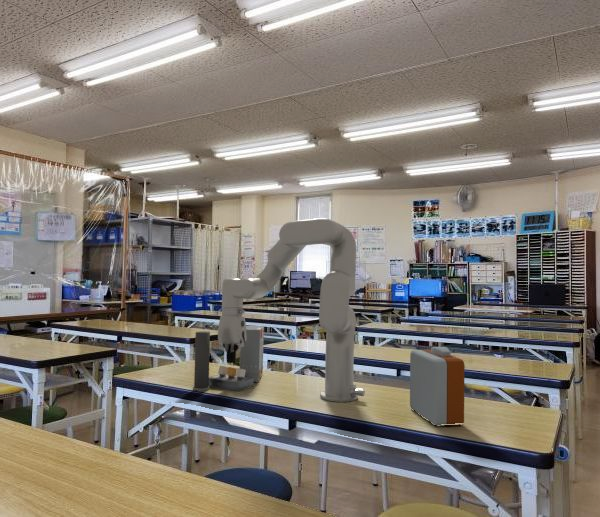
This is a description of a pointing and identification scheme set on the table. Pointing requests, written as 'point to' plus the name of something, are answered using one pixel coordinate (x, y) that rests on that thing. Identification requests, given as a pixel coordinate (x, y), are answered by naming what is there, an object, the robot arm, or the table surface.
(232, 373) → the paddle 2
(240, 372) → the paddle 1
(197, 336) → the dark grey tall block
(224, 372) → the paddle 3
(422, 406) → the grey and brown block
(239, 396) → the table surface
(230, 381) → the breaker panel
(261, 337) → the hard drive box
